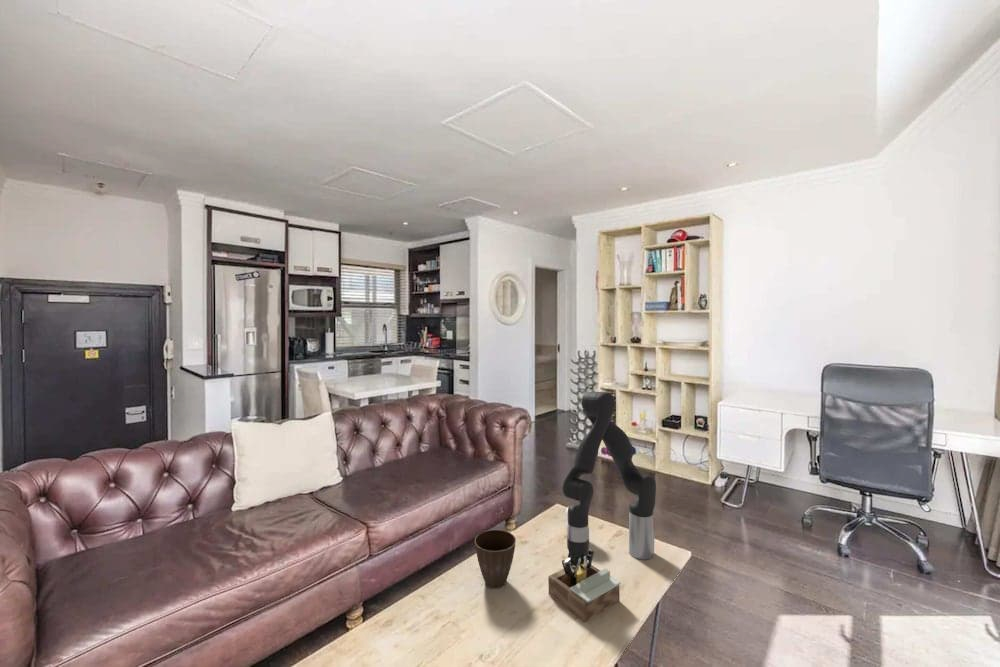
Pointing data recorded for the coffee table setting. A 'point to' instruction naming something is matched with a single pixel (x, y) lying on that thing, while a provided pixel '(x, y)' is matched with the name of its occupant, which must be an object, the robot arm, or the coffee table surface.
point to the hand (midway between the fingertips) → (578, 583)
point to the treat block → (580, 575)
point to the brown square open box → (576, 604)
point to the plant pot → (495, 556)
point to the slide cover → (595, 585)
